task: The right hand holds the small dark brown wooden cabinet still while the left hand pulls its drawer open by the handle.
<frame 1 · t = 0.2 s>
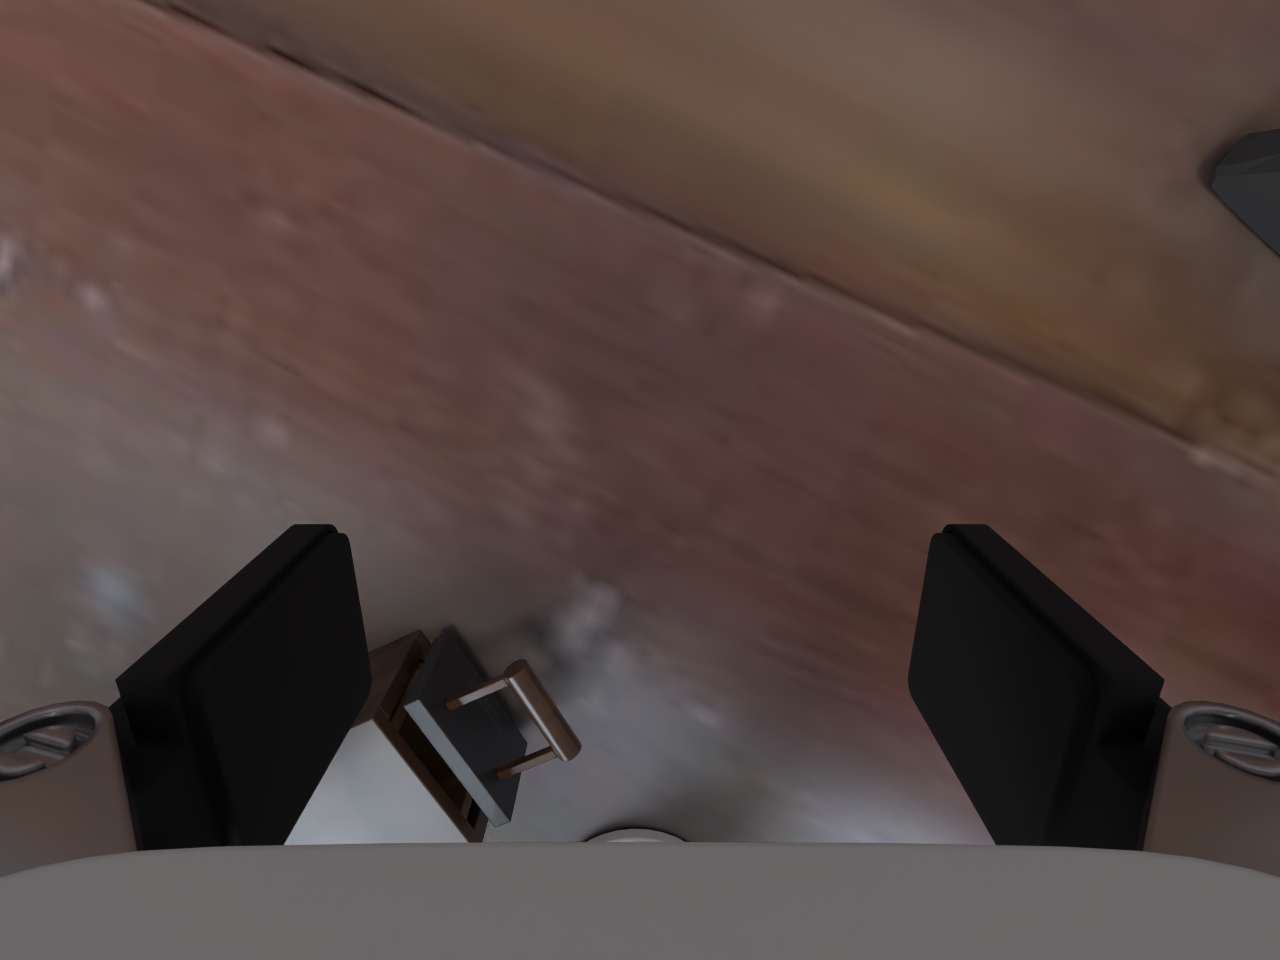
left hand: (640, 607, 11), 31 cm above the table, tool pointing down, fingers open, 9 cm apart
cabinet: (365, 734, 51), on the table
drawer: (415, 750, 45), point 5 cm above the table, slide at 1.2 cm
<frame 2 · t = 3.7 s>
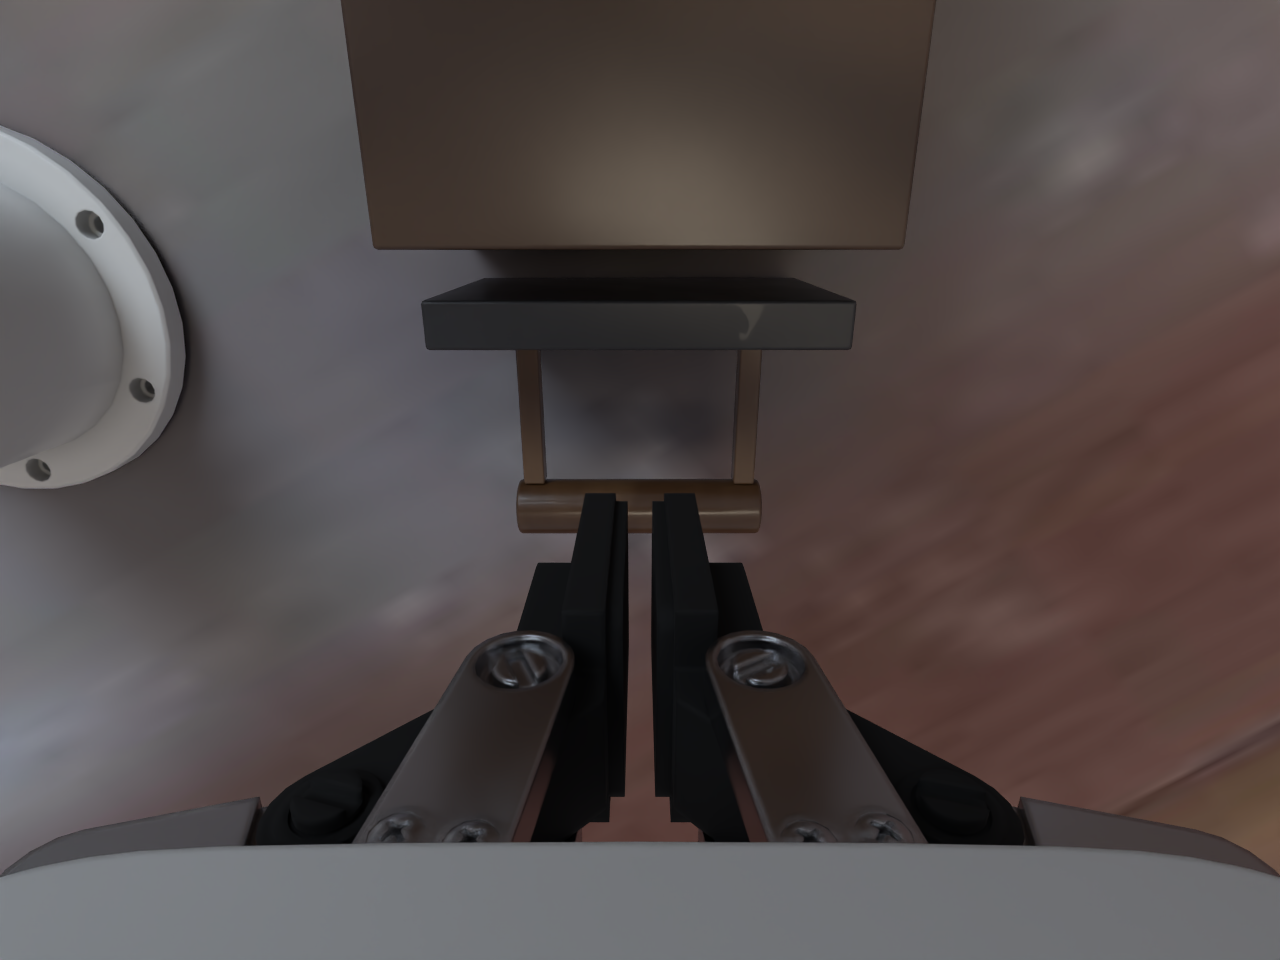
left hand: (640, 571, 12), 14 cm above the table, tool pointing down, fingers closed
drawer: (638, 141, 18), point 5 cm above the table, slide at 1.2 cm
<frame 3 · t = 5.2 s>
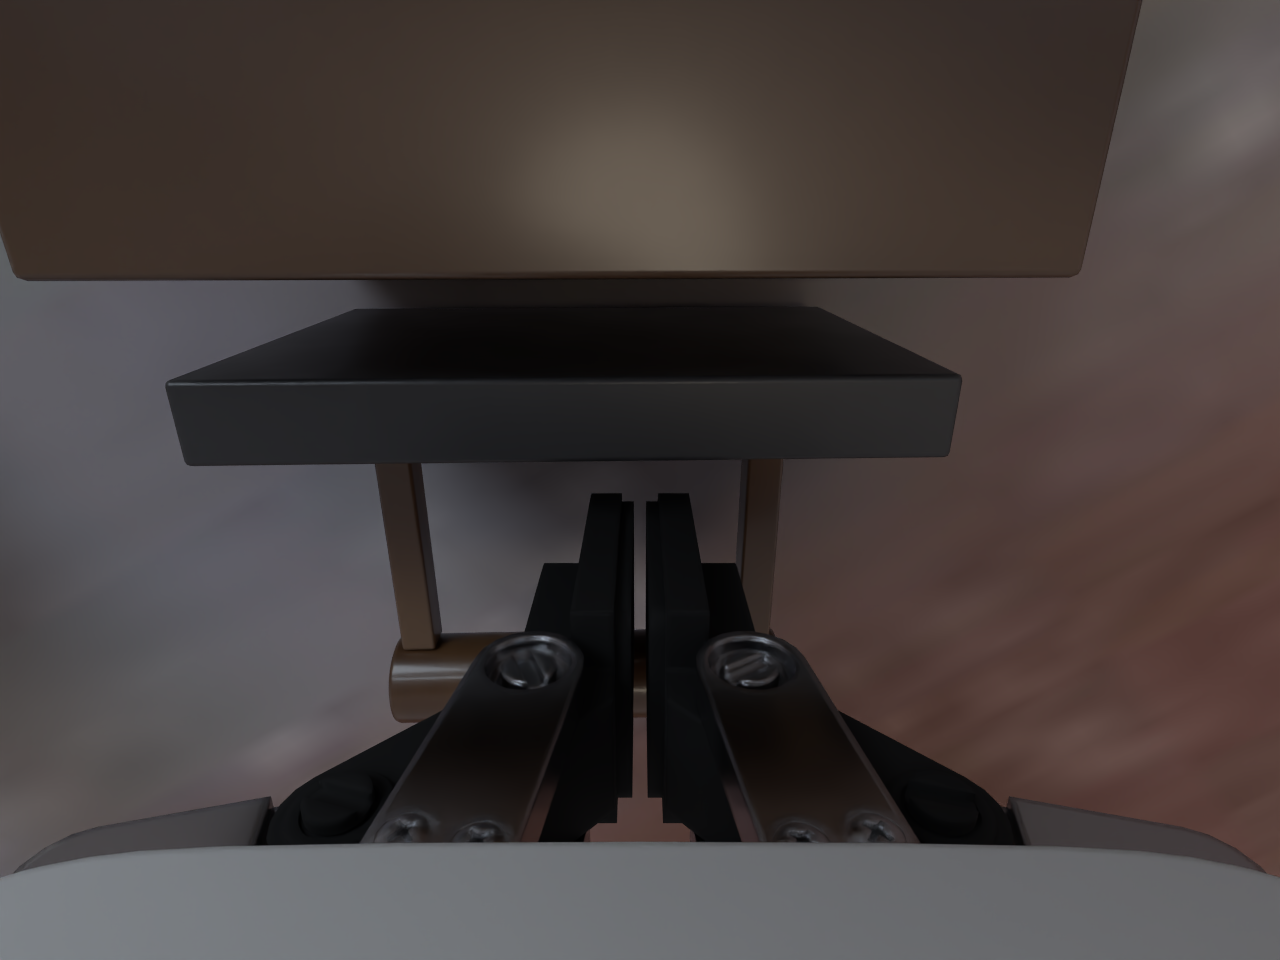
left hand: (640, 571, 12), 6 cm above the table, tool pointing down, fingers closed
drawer: (574, 92, 11), point 5 cm above the table, slide at 1.3 cm, touching left hand
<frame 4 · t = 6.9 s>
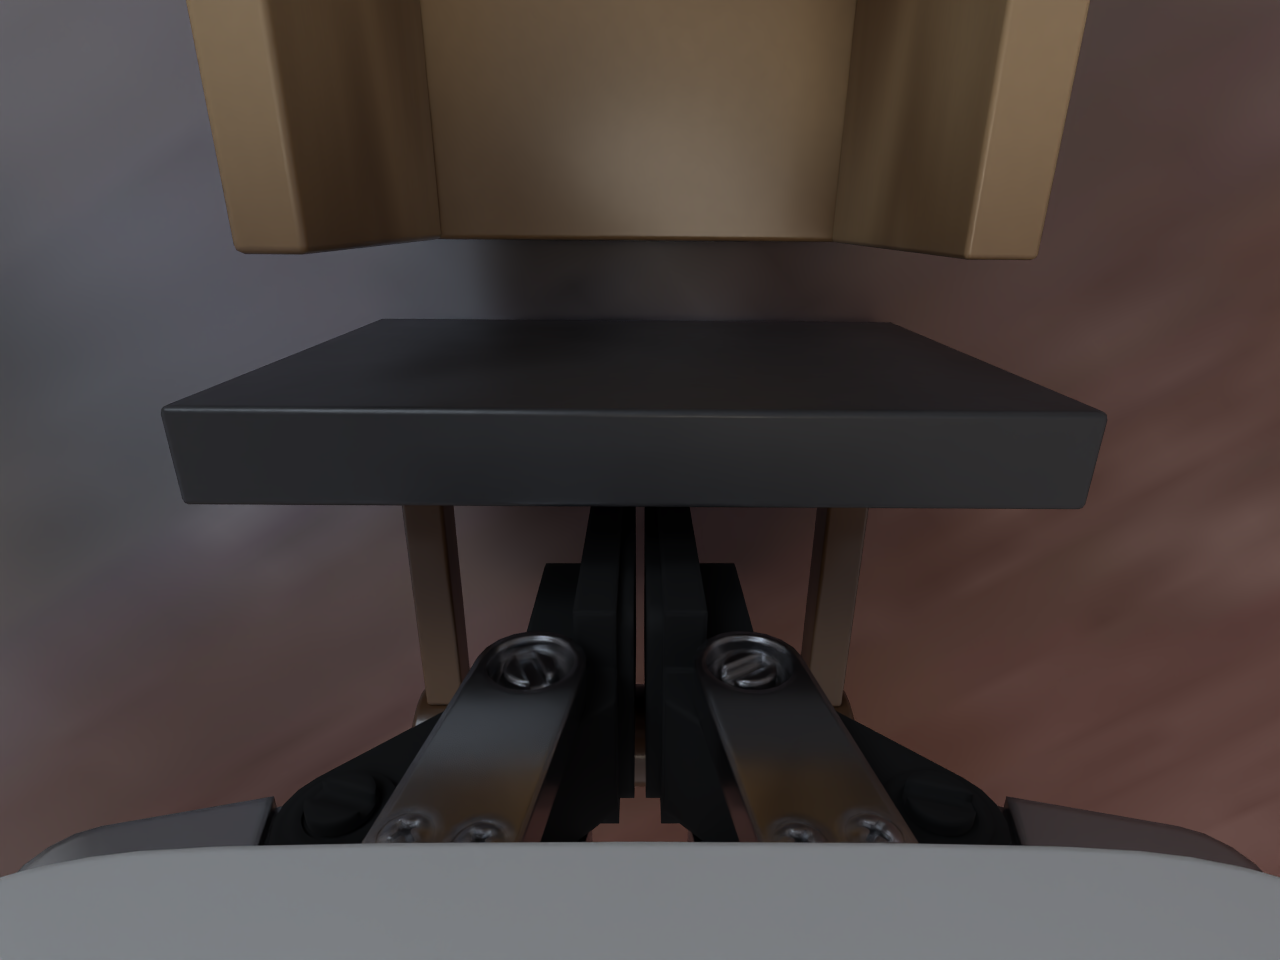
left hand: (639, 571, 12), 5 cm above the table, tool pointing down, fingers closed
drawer: (637, 76, 9), point 4 cm above the table, slide at 9.7 cm, touching left hand
when the right hand's fingers open (5 cm above the table, at t = 8.7 s): cabinet stays where it is, on the table.
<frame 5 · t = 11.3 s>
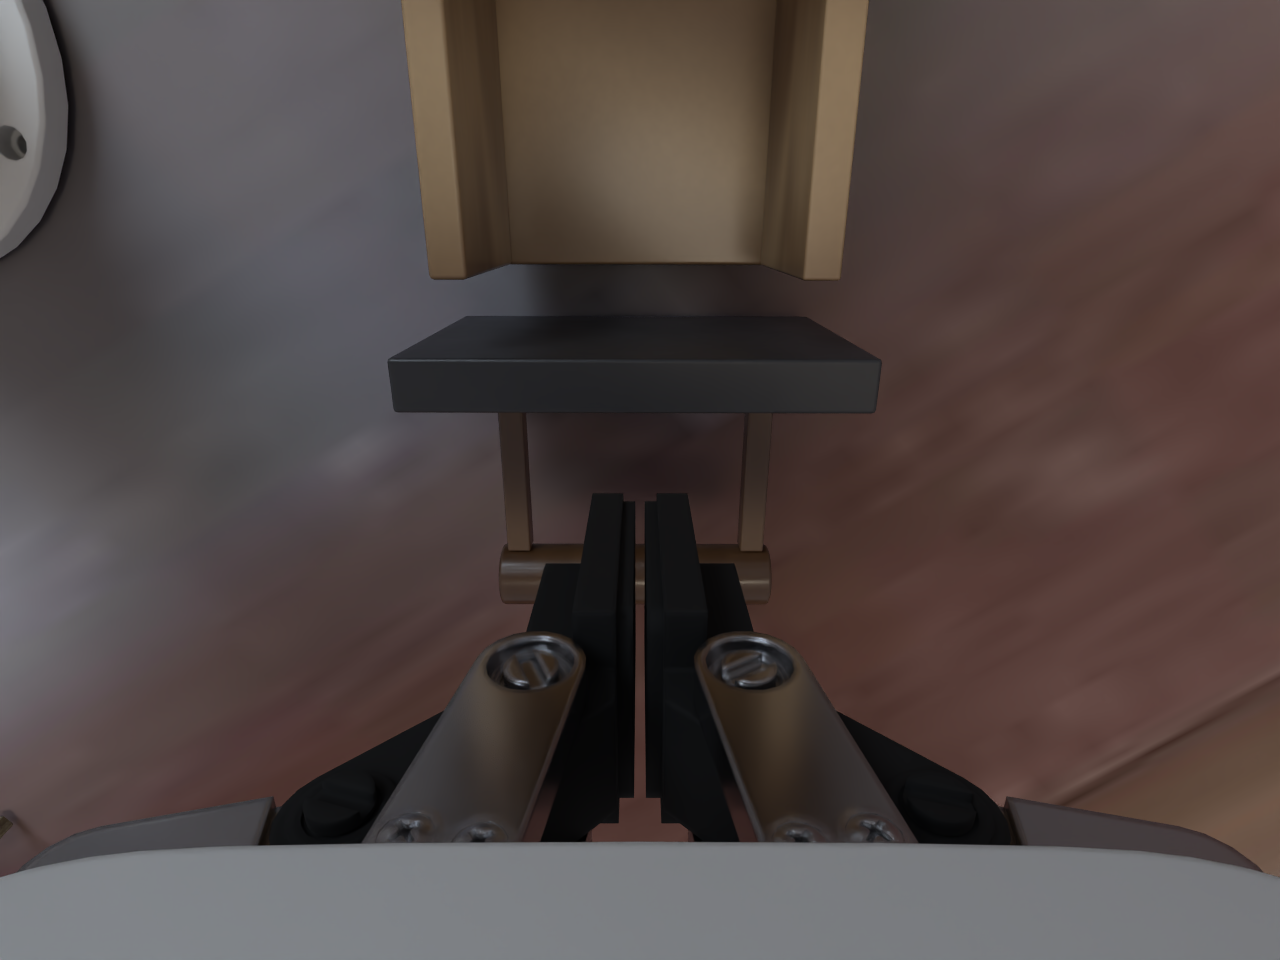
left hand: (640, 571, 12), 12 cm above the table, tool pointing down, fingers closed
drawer: (635, 174, 16), point 5 cm above the table, slide at 9.7 cm
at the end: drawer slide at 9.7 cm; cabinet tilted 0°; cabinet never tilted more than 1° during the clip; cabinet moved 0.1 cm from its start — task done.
